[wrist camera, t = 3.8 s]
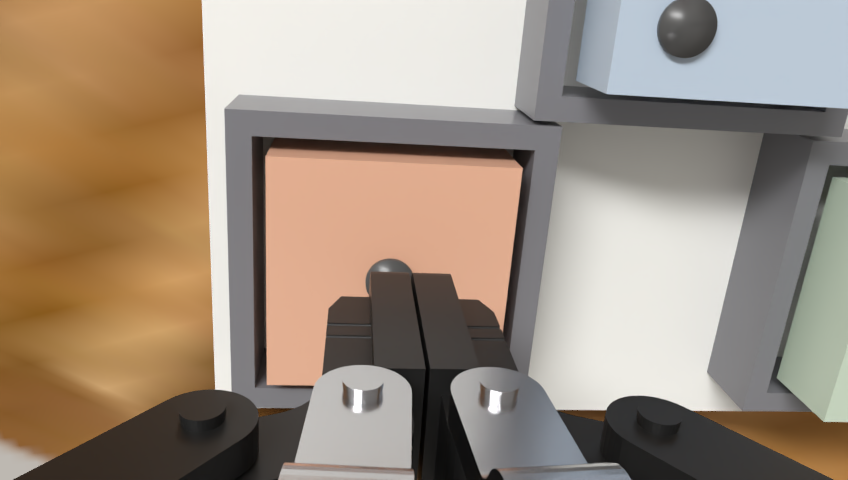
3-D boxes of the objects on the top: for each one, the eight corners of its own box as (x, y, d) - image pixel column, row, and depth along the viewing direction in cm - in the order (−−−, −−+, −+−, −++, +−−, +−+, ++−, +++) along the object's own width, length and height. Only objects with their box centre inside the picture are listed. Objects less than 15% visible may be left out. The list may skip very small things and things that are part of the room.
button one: (504, 148, 16) (524, 170, 14) (482, 347, 17) (497, 390, 15) (275, 137, 15) (264, 158, 13) (275, 344, 17) (265, 388, 15)
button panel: (1080, -178, 17) (1279, -222, 13) (891, 375, 22) (997, 452, 18) (211, -278, 14) (164, -365, 11) (229, 366, 19) (201, 452, 16)
